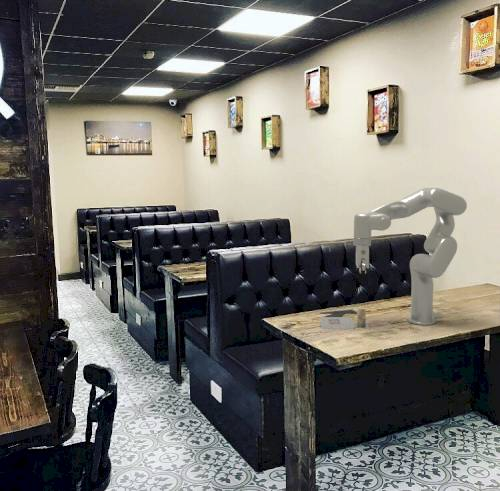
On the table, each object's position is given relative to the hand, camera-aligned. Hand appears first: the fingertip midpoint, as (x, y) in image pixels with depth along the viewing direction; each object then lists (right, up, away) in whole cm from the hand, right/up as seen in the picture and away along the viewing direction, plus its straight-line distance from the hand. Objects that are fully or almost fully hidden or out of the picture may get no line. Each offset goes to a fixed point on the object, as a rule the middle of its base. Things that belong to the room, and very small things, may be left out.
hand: (360, 280), depth 223 cm
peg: (+1, -20, +2) cm, 20 cm away
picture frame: (-5, -20, +23) cm, 31 cm away
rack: (-7, -22, +3) cm, 23 cm away
